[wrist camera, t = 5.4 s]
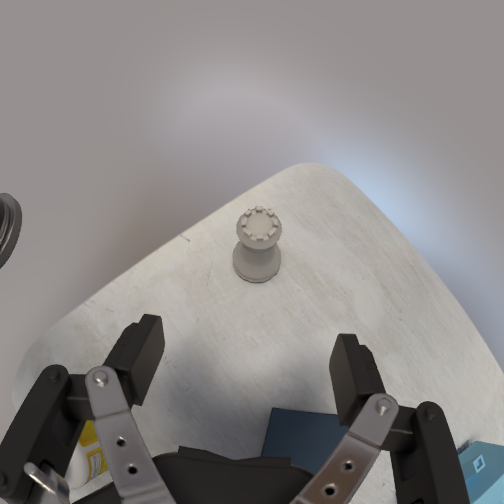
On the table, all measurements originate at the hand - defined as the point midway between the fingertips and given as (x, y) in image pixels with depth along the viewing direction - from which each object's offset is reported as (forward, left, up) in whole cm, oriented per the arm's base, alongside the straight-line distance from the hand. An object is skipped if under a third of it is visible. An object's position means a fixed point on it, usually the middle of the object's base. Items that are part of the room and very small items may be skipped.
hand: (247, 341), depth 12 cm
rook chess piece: (-1, +8, -13) cm, 15 cm away
